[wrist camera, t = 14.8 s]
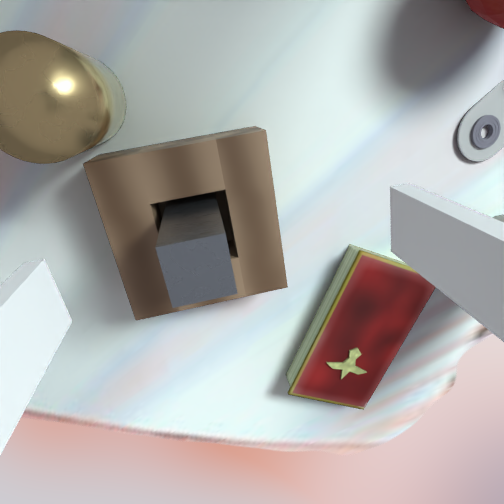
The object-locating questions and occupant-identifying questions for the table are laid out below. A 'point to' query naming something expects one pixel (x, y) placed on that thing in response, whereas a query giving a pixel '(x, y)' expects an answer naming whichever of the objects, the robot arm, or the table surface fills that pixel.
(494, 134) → the bracket
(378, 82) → the table surface
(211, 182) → the socket block
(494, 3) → the apple
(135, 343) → the table surface
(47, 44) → the round bit
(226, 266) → the square bit
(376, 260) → the hardcover book
